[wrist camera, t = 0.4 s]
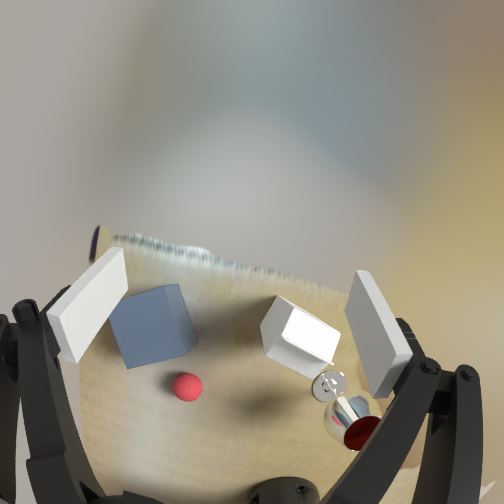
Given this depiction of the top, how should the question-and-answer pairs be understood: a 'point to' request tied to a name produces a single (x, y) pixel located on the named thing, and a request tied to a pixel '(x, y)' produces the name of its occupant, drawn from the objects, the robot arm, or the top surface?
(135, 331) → the blue gray block
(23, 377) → the robot arm
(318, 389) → the wineglass
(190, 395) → the ball
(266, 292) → the top surface
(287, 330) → the milk
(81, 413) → the top surface
